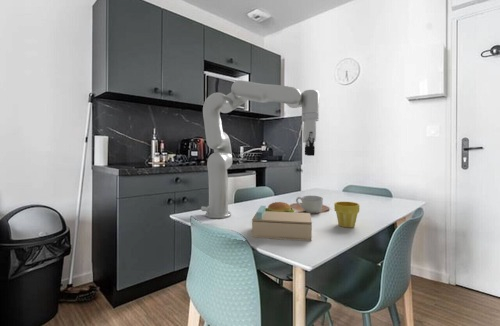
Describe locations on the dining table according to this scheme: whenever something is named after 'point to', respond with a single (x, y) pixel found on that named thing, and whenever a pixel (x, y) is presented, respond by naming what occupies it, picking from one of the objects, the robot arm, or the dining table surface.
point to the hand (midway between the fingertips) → (309, 155)
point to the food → (279, 207)
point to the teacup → (311, 203)
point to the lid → (281, 216)
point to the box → (282, 230)
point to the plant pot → (346, 213)
